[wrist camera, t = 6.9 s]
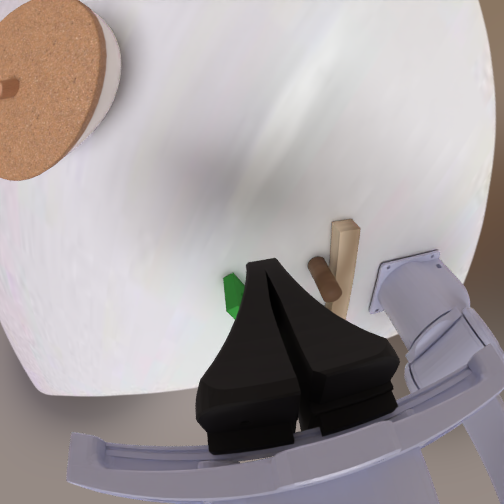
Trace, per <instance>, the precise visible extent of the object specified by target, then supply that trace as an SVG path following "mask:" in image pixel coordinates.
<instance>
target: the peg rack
mask: <svg viewBox="0 0 504 504" xmlns="http://www.w3.org/2000/svg"><path fill="white" fill-rule="evenodd" d="M359 237H360V227H359V226H358V225H357V224H356V223H355V222H354V221H353V220H352V219H348V220H341V221H334V222H332V236H331V251H330V264H329V267H328V265H327V263H326V261H325V260H324V258H322V257H314V258H312V259H311V260H310V261H309V263H308V269H309V271H310V273H311V275H312V277H313V279H314V281H315V283H316V285H317V287H318V289H319V291H320V294H321V296H322V298H323V300H324V301H325V302H326V305H325V307H326V308H327V309H329V310H330V311H332V312H333V313H335V314H336V315H338V316H339V317H341V318H343V319H345V320H346V315H347V310H348V305H349V300H350V295H351V289H352V284H353V278H354V272H355V266H356V259H357V252H358V245H359Z"/></svg>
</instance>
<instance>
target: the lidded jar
mask: <svg viewBox="0 0 504 504" xmlns="http://www.w3.org/2000/svg"><path fill="white" fill-rule="evenodd" d="M121 64H122V62H121V52H120V48H119V45H118V42H117V39H116V37H115V35H114V33H113V31H112V29H111V28H110V27H109V26H108V24H107V23H106V22H105V21H104V20H103V19H102V18H101V17H100V16H99V15H97V14H96V13H95V12H93V11H92V10H91V9H90V8H89V7H87V6H86V5H85V4H83V3H82V2H80V1H79V0H31V1H29V2H27V3H25V4H23V5H21V6H20V7H18V8H17V9H15V10H14V11H13V12H11V13H10V14H9V15H7V16H6V17H5V18H4V19H3V20H2V21H1V22H0V178H3V179H7V180H14V181H21V180H26V179H30V178H33V177H35V176H38V175H40V174H42V173H43V172H45V171H46V170H48V169H49V168H51V167H53V166H54V165H55V164H57V163H58V162H59V161H60V160H61V159H62V158H63V157H65V156H66V155H67V154H69V153H70V152H71V151H73V150H74V149H75V148H76V147H78V146H79V145H80V144H81V143H82V142H83V141H85V140H86V139H87V138H88V137H89V135H90V134H91V133H92V132H93V131H94V130H95V129H96V128H97V126H98V125H99V124H100V122H101V121H102V120H103V119H104V117H105V115H106V114H107V112H108V110H109V109H110V107H111V105H112V103H113V100H114V98H115V96H116V93H117V89H118V86H119V82H120V76H121Z"/></svg>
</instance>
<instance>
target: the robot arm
mask: <svg viewBox="0 0 504 504" xmlns="http://www.w3.org/2000/svg"><path fill="white" fill-rule="evenodd" d="M439 256H440V252H439V251H438V250H436V251H432V252H428V253H424V254H420V255H416V256H412V257H408V258H403V259H399V260H395V261H391V262H386V263H383V264H382V265H381V266H380V269H379V273H378V278H377V282H376V286H375V290H374V294H373V298H372V302H371V305H370V309H369V312H370V314H374V313H377V312H381V311H384V310H385V312H386V314H387V315H388V317H389V319H390V320H391V322H392V323H393V325H394V327H395V328H396V330H397V332H398V333H399V335H400V337H401V339H402V340H403V342H404V343H405V345H406V347H407V349H408V351H409V352H408V353H407V354H406V355H405V356H406V358H407V360H408V361H409V362H408V363H407V364H406V366H405V381H406V384H407V386H408V388H409V390H410V392H411V394H410V395H407V396H405V397H403V398H400V399H398V400H395V398H394V395H393V393H392V390H393V385H392V383H391V381H390V380H391V378H392V377H393V375H394V373H395V372H396V370H397V368H398V365H399V363H400V361H399V358H398V356H397V354H396V352H395V350H394V349H393V347H392V346H391V345H390V343H389V342H388V340H387V339H386V338H383V337H381V336H378V335H376V334H373V333H370V332H368V331H366V330H364V329H361V328H359V327H357V326H355V325H353V324H351V323H350V322H348V321H346V320H345V319H343V318H341V317H339V316H338V315H336V314H335V313H333V312H332V311H330V310H329V309H327V308H326V307H325V306H323V305H322V304H321V303H319V302H318V301H317V300H316V299H315V298H313V297H312V296H311V295H310V294H309V293H308V292H307V291H305V290H304V289H303V288H302V287H301V286H300V285H299V284H298V283H297V282H296V281H295V280H294V279H293V278H292V277H291V275H290V274H289V273H288V272H287V271H286V270H285V269H284V267H283V266H282V265H281V264H280V262H279V261H278V260H277V259H276V258H272V259H266V260H260V261H254V262H248V263H247V264H246V269H247V272H246V282H245V287H244V292H243V297H242V300H241V304H240V307H239V310H238V313H237V316H236V319H235V321H234V324H233V326H232V328H231V331H230V333H229V335H228V337H227V339H226V341H225V343H224V345H223V346H222V348H221V350H220V351H219V353H218V355H217V357H216V358H215V360H214V361H213V363H212V364H211V366H210V367H209V368H208V370H207V371H206V372H205V374H204V375H203V377H202V378H201V379H200V383H199V386H198V391H197V396H196V420H197V422H198V423H199V424H200V425H201V426H202V428H203V429H204V430H205V431H206V432H207V436H208V445H202V446H141V445H140V446H139V445H127V444H116V443H108V442H105V441H104V440H102V439H101V438H99V437H96V436H93V435H88V434H82V433H76V432H72V433H71V439H70V446H69V456H68V465H67V482H69V483H72V484H74V485H78V486H81V487H84V488H87V489H90V490H93V491H97V492H101V493H105V494H109V495H114V496H119V497H125V498H131V499H137V500H144V501H152V502H163V503H176V504H440V503H439V500H438V497H437V494H436V491H435V488H434V485H433V482H432V479H431V476H430V473H429V471H428V468H427V465H426V462H425V460H424V457H423V455H422V452H421V448H423V447H425V446H427V445H429V444H430V443H432V442H434V441H435V440H437V439H439V438H440V437H442V436H444V435H445V434H447V433H448V432H450V431H451V430H453V429H454V428H456V427H457V426H459V425H460V424H462V423H463V425H464V427H465V429H466V430H467V432H468V434H469V436H470V438H471V440H472V442H473V444H474V445H475V447H476V449H477V451H478V453H479V455H480V457H481V459H482V461H483V463H484V466H485V468H486V470H487V472H488V475H489V477H490V479H491V481H492V484H493V486H494V488H495V491H496V493H497V496H498V498H499V501H500V504H504V402H503V400H502V399H501V397H500V395H499V393H501V392H502V391H503V390H504V352H503V350H502V349H501V348H500V346H499V343H498V341H497V339H496V338H495V336H494V335H493V334H492V332H491V331H490V329H489V328H488V326H487V325H486V324H485V323H484V321H483V320H482V319H481V317H480V316H479V315H478V314H477V312H476V311H475V310H474V309H473V308H470V300H469V295H468V293H467V290H466V288H465V287H464V285H463V284H462V283H461V282H460V281H459V279H458V278H457V277H456V276H455V275H454V274H453V273H452V272H451V271H450V270H449V268H448V267H447V266H446V265H445V264H444V263H443V262H442V261H441V260H440V259H439ZM298 418H299V423H300V428H301V432H296V433H295V430H296V421H297V420H298ZM272 456H274V457H272ZM266 457H270V458H266ZM259 458H265V459H261V460H256V461H251V462H246V463H240V462H238V461H245V460H253V459H259Z"/></svg>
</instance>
